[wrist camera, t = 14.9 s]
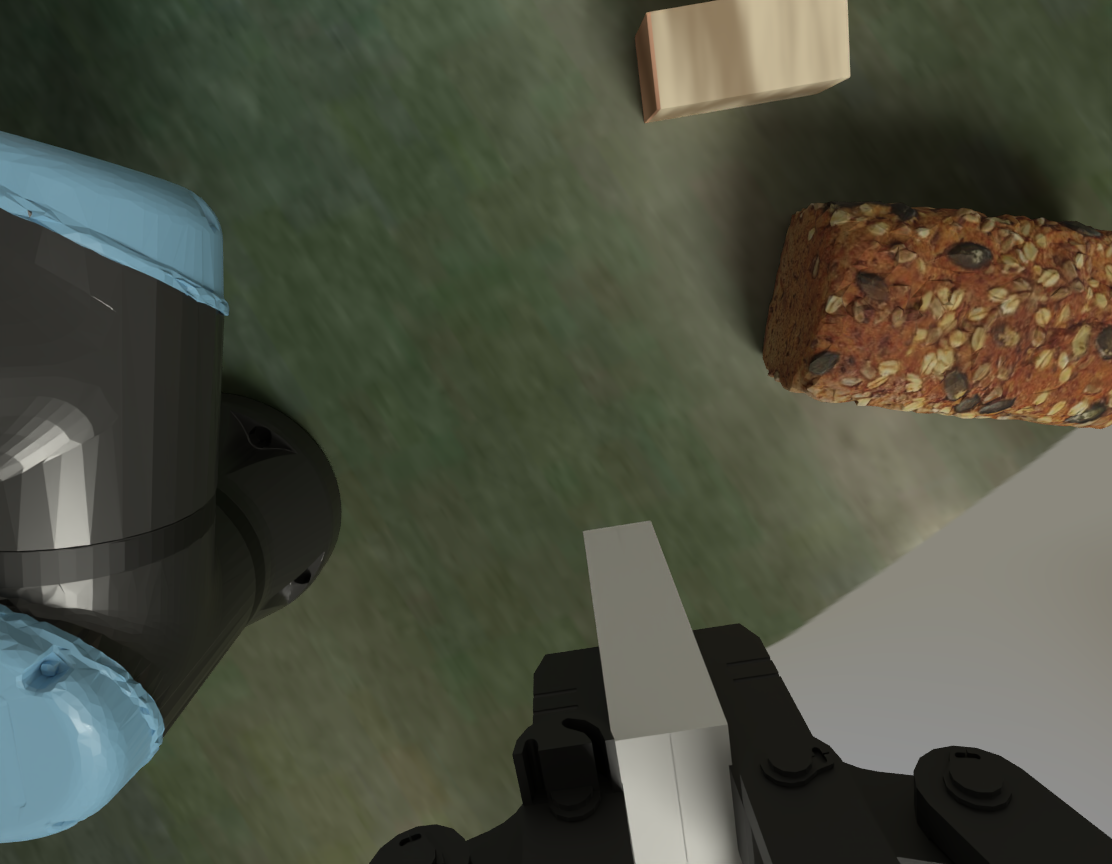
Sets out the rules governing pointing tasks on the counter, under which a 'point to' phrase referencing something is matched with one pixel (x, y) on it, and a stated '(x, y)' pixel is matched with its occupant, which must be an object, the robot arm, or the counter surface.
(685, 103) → the light wood tall block
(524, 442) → the counter surface
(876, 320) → the bread
